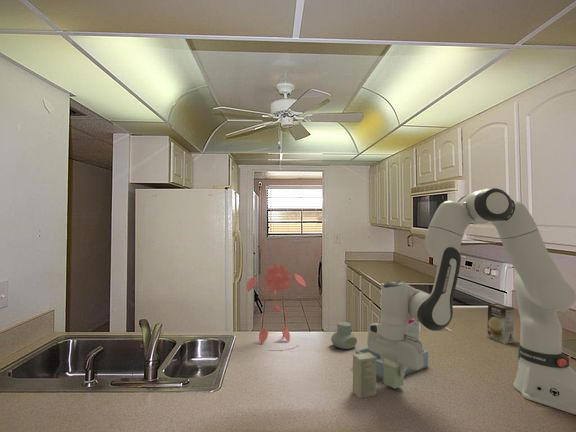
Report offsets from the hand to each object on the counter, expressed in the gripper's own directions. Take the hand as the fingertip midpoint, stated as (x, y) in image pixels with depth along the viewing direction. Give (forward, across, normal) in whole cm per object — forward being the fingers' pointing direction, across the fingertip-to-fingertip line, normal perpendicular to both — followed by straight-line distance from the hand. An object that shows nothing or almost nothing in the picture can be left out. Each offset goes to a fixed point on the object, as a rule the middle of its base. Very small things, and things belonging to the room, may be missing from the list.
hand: (393, 372), depth 113 cm
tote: (+5, +11, -13) cm, 18 cm away
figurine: (+5, +52, +13) cm, 54 cm away
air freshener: (+5, +35, -11) cm, 37 cm away
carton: (+4, 0, 0) cm, 4 cm away
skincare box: (+5, +2, +11) cm, 12 cm away
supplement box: (+5, +23, -40) cm, 46 cm away
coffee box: (+6, +4, -81) cm, 81 cm away
